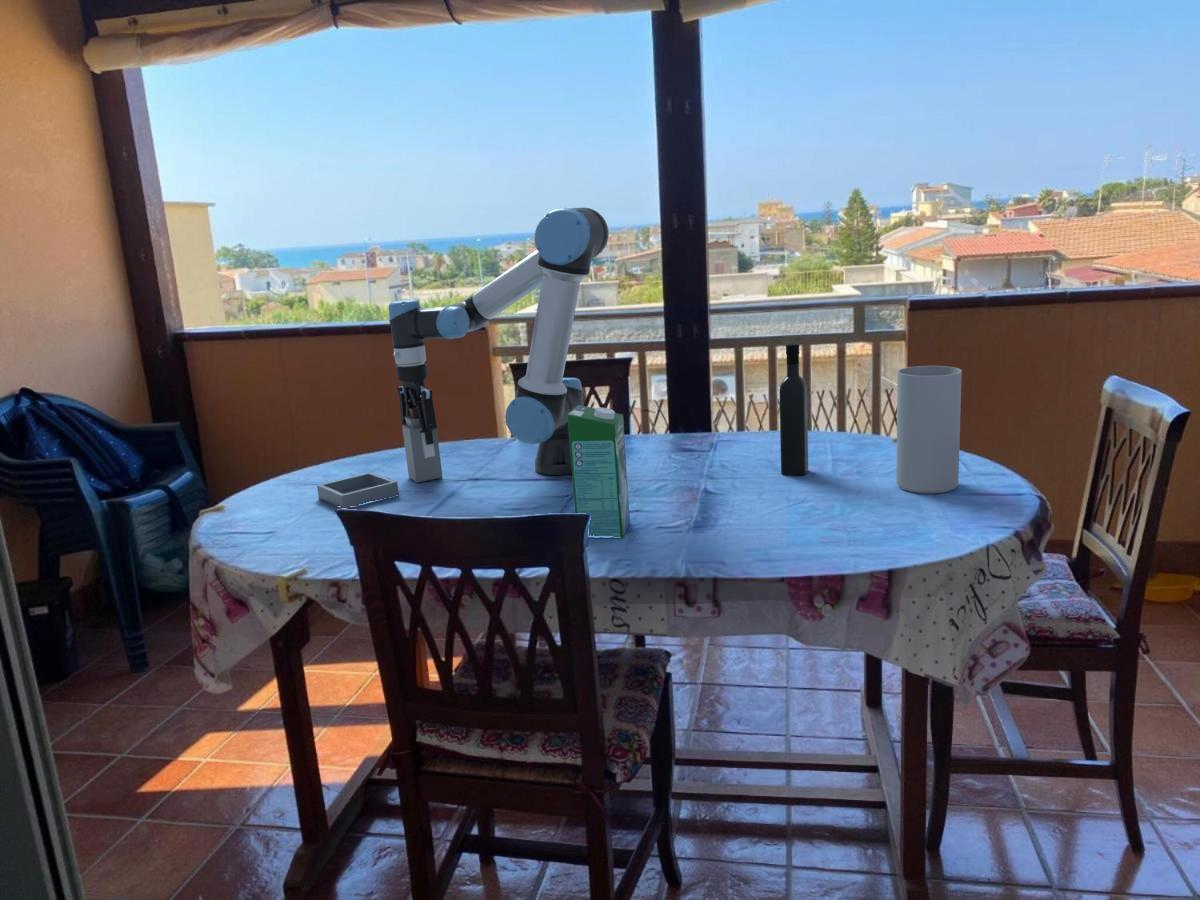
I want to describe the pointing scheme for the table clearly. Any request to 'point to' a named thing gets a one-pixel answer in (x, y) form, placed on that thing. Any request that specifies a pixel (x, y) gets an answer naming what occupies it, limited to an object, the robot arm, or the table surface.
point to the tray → (357, 490)
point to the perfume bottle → (420, 451)
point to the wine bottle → (793, 417)
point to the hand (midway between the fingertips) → (422, 454)
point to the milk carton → (599, 469)
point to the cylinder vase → (928, 428)
